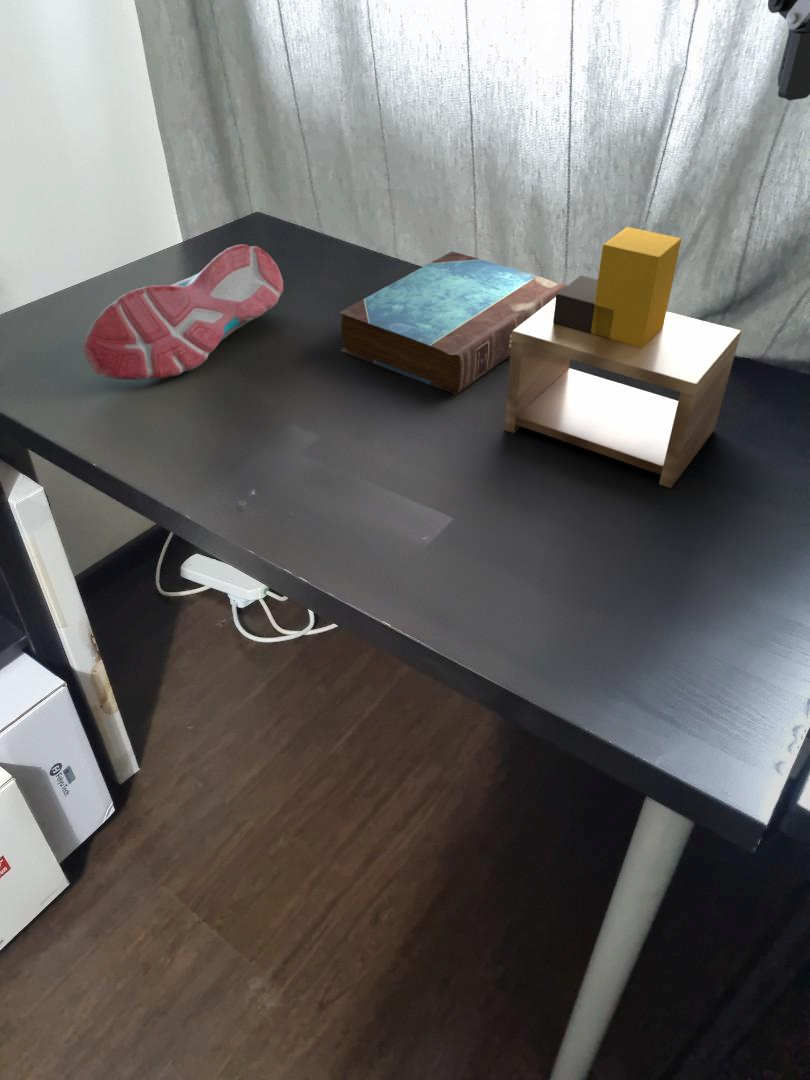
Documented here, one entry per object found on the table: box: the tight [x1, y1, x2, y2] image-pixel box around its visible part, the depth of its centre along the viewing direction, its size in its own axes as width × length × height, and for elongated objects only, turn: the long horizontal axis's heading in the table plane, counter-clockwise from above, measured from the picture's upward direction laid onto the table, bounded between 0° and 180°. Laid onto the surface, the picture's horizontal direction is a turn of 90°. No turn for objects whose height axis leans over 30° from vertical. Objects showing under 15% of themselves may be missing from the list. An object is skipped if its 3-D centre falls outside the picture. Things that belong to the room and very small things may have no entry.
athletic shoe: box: [83, 243, 284, 381], centre depth 99 cm, size 27×9×12 cm
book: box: [338, 251, 567, 396], centre depth 100 cm, size 23×18×5 cm
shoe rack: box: [504, 297, 742, 489], centre depth 82 cm, size 18×12×11 cm, turn 55°
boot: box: [553, 226, 682, 348], centre depth 76 cm, size 9×5×8 cm, turn 55°
